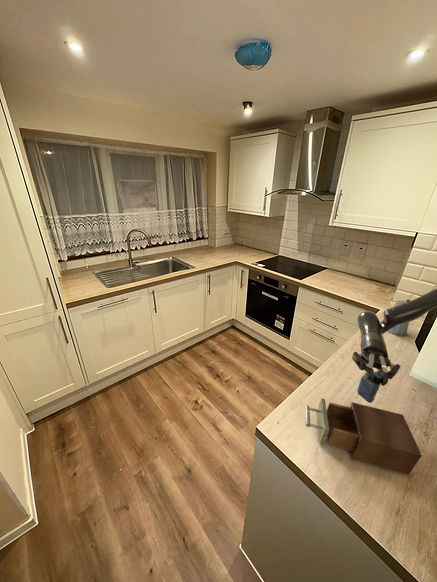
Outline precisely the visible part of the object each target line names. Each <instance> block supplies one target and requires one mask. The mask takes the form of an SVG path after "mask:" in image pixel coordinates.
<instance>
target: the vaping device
mask: <svg viewBox="0 0 437 582" xmlns="http://www.w3.org/2000/svg"><path fill="white" fill-rule="evenodd" d="M382 378H383V374H382V373H381V371H378V370H377V371H374V380H373V382H370V381H369V379H368V378H367V373H366V372H365V373H364V374H363V375H362V376H361V378H360V381H359V383H358V386H357V390H356V391H357V394H358V395H359V396H360V397H361V398H362V399H363V400H365V401H366V402H367V403H370V404H371V403H373V402H374V401H375V398H376V396H377V393H378V391H379V390H380V386H381V381H382Z"/></svg>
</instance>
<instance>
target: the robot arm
mask: <svg viewBox="0 0 437 582" xmlns="http://www.w3.org/2000/svg"><path fill="white" fill-rule="evenodd" d="M436 307H437V288H435V289H433V290H431V291H428V292H426V293H424V294H423V295H421V296H419V297H417V298H414V299H412V300H410V301H409V302H407V303H404V304H401V305H398V306H395V305H394V306H393V307H390V308H387V309H384V311H383V312H382V313H383V315H382V316H383V319H382V320H381V321H380V320H379V318H378V315H377V314H376V313H375V312H373V311H369V310H368V311H367V310H366V311H363V312H361V313H360V314H359V315H358V317H357V324H358V328H359V331H360V344H359V347H360V353H359V352H357V351H353V353H352V357H351V359H352V360H353V362H354V363H355V365H356V366H357V367H358V369H359V370H360V371H365V373H367V378H368V379H369V381H370V382H373V380H374V372H375V370H374V369H376V370H377V371H381V373H382V374H383V378H382V381H381V383H380V386H383V387H385V386H387V384H388V382H389V380H392V379H393V378H394V377H395V376H396V375H397V374H398V373H399V370H400V369H401V366H402V365H400V364H399V363H393V362H392V361H391V360H390V359H389V354H388V349H387V344H386V342H385V339H384V334H386V333H387V332H389V330H390V329H392V328H394V327H395V326H397V325H401V324H404V323H407V322H409V323H411V322H413V321H416V320H418V319H419V318H421V317H422V316H424V315H425V314H427V313H429V312H430V311H431V310H433V309H435V308H436ZM388 367H389V370H388Z"/></svg>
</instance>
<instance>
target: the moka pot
mask: <svg viewBox="0 0 437 582" xmlns="http://www.w3.org/2000/svg"><path fill="white" fill-rule="evenodd" d="M409 301H411V300H410V299H406V300H397V301H396V302H395V304H394V307H395V306H398V305H401V304H404V303H407V302H409ZM409 324H410V322H407V323H404V324H401V325H397V326H395V327H394V328H392V329H390V330H389V331H388V332H389V333H391V334H393V335H395V336H401V337H404V336H407V334H408V328H409Z"/></svg>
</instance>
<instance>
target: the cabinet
mask: <svg viewBox="0 0 437 582" xmlns="http://www.w3.org/2000/svg"><path fill="white" fill-rule="evenodd" d="M349 407H350V408H352V410H353V414H354V417H355V421H356V425H357V429H358V433H359V437H360V438H359V441H358V443H357V445H356V447H355V449H354V451H350V455H351V458H352V459H353V460H357V461H361V462H364V463H368V464H371V465H374V466H378V467H381V468H384V469H388V470H392V471H394V472H397V473H401V474H405V475H408V476H409V475H410V474H411V472H412V471H413V469H414V468H415V467H416V465H417V463H418V462H419V461H420V460H421V458H422V456H423V455H422V453H421V450H420V448H419V446H418V444H417V443H416V439H415V438H414V436H413V433H412V432H411V429H410V427H409V425H408V423H407V421H406V419H405V415H404V414H401V413H399V412H394V411H393V412H392V411H389V410H386V409H382V408H377V407H373V406H370V405H366V404H361V403H357V402H353V401H352V402H350V405H349Z"/></svg>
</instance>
